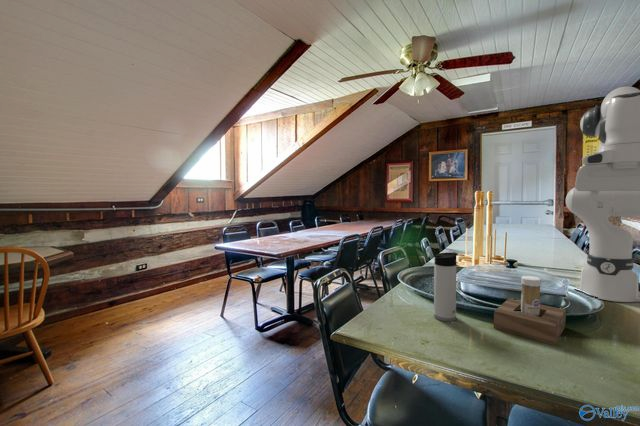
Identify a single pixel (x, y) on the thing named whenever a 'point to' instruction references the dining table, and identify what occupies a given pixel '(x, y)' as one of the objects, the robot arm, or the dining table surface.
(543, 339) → the walnut socket block
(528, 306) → the sprinkles bottle
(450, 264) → the travel mug
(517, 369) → the dining table surface
